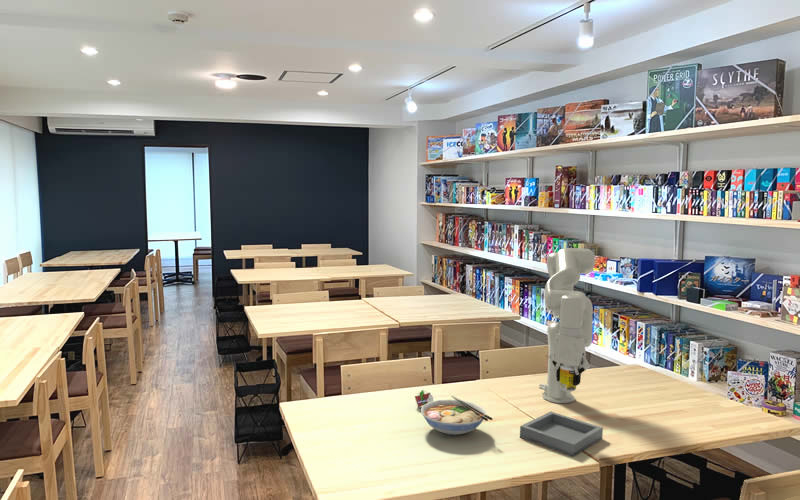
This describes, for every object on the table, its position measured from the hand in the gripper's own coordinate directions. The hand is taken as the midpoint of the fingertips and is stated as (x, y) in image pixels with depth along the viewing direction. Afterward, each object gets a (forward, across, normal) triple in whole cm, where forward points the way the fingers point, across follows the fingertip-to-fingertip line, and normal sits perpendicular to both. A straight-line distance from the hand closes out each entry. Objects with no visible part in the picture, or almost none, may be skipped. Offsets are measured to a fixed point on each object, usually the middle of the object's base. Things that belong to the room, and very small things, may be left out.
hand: (568, 382), depth 200 cm
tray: (+19, 0, -4) cm, 19 cm away
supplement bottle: (+3, 0, 0) cm, 3 cm away
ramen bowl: (+19, -28, -27) cm, 43 cm away
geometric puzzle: (+19, -50, -18) cm, 57 cm away
